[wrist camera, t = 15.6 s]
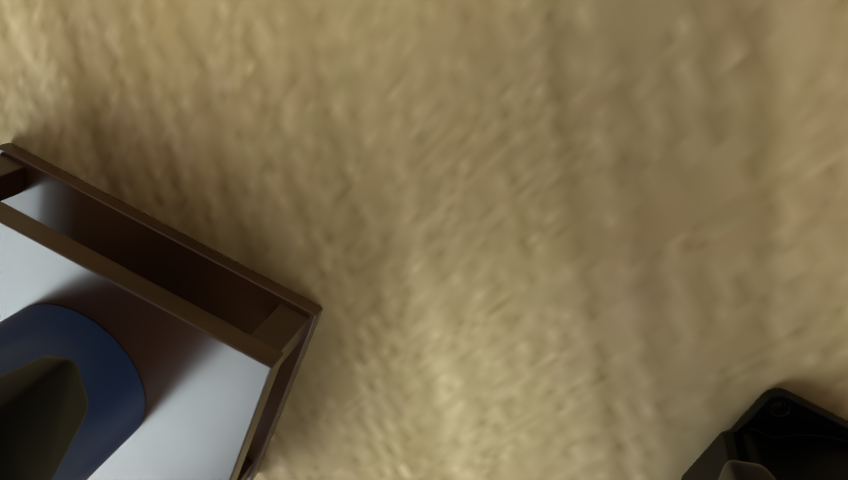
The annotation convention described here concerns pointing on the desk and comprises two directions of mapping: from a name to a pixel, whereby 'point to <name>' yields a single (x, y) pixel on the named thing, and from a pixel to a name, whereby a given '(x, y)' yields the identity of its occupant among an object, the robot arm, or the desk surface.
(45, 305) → the blue cylinder
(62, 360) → the robot arm
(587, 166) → the desk surface
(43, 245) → the rack
